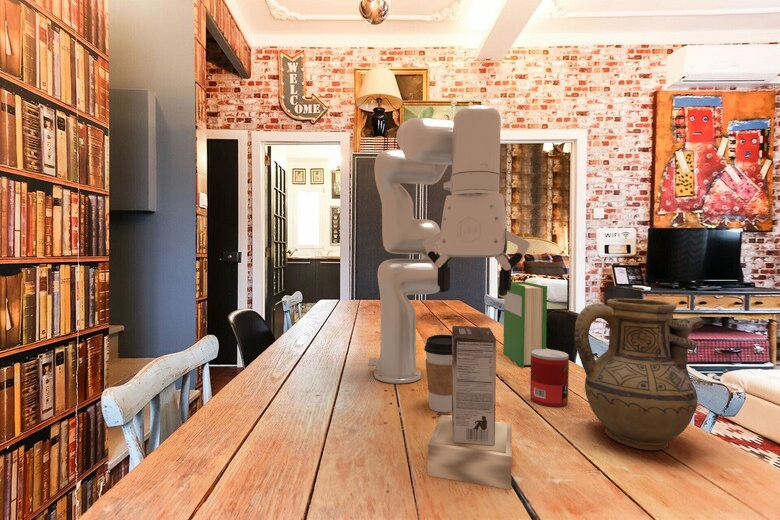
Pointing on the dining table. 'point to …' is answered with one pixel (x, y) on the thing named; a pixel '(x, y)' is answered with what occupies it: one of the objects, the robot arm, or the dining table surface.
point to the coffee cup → (439, 372)
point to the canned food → (549, 377)
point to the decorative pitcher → (639, 371)
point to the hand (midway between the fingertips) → (472, 293)
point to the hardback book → (524, 321)
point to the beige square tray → (471, 456)
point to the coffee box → (473, 385)
